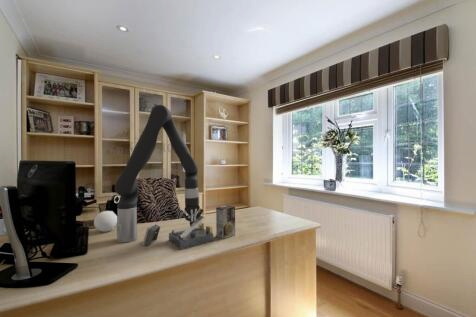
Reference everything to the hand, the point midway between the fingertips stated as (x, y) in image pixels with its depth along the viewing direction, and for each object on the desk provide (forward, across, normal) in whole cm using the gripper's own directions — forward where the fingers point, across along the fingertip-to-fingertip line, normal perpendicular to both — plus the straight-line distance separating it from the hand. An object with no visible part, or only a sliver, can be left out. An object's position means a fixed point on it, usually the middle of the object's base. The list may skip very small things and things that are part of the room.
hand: (192, 227), depth 125 cm
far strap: (+1, -3, 0) cm, 4 cm away
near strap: (-3, -4, -9) cm, 10 cm away
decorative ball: (+4, -36, +41) cm, 55 cm away
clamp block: (+5, -3, -4) cm, 7 cm away
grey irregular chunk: (+5, -20, +6) cm, 22 cm away
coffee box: (+6, +16, -9) cm, 19 cm away
